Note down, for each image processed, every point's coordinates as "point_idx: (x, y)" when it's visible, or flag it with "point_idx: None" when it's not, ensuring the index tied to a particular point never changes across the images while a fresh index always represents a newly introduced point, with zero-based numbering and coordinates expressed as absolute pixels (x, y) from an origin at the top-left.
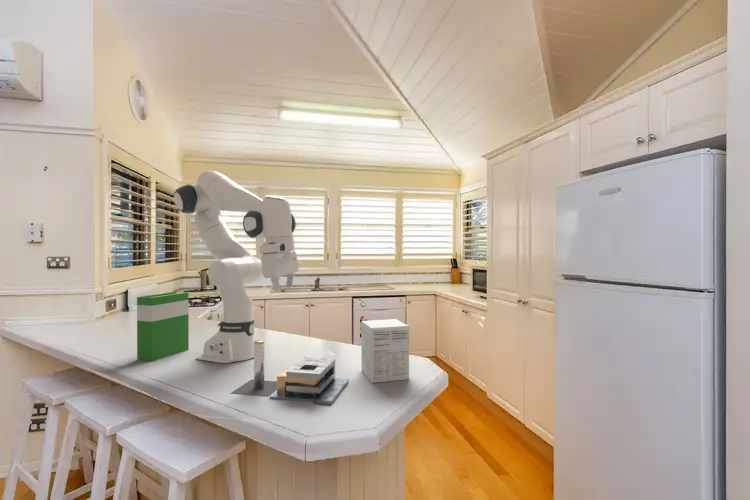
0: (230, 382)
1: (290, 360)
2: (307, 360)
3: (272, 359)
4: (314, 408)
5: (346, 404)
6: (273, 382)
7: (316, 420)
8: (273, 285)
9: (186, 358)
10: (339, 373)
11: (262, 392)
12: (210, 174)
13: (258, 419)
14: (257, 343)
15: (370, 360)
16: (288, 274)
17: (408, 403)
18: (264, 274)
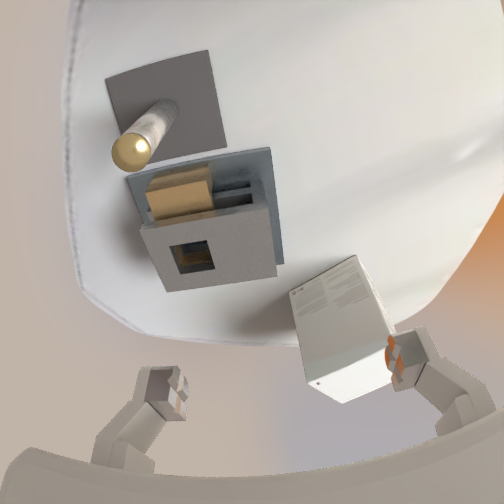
0: (175, 10)
1: (405, 64)
2: (242, 227)
3: (400, 10)
4: (144, 262)
5: (183, 292)
6: (211, 119)
7: (116, 281)
8: (126, 405)
9: None
10: (331, 223)
11: None
12: None
13: (67, 212)
14: (114, 160)
15: (300, 321)
16: (452, 428)
17: (227, 344)
18: (15, 468)
